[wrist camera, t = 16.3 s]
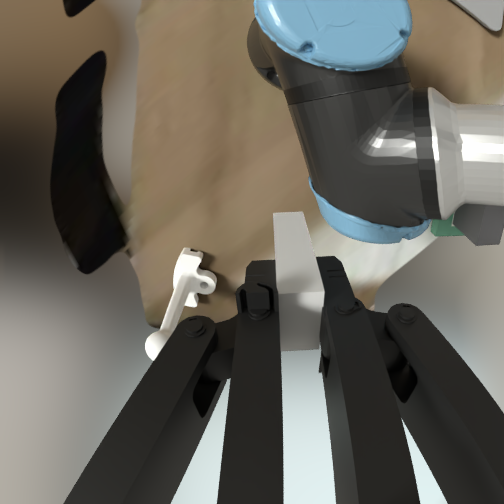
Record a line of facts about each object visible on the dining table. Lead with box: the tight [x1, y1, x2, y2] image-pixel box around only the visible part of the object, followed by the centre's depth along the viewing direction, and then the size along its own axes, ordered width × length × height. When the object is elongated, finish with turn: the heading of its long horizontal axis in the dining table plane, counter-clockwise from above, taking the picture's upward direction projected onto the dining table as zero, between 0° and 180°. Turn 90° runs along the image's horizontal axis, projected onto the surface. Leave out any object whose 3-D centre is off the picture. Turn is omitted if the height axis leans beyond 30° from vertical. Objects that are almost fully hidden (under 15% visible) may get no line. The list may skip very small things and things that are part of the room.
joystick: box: [145, 248, 217, 361], centre depth 44 cm, size 11×8×20 cm
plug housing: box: [452, 203, 504, 246], centre depth 36 cm, size 11×6×8 cm, turn 5°
